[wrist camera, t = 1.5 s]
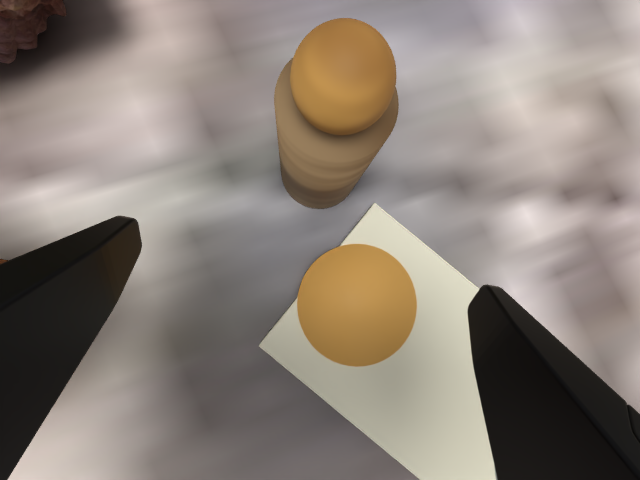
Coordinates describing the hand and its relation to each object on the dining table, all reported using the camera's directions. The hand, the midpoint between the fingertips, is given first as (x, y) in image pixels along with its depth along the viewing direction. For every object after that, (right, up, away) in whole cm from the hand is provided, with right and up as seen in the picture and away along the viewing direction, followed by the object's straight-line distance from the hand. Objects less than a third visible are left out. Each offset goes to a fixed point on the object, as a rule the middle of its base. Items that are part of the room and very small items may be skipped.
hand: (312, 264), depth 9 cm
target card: (+8, -8, +12) cm, 17 cm away
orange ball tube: (0, +5, +13) cm, 14 cm away
